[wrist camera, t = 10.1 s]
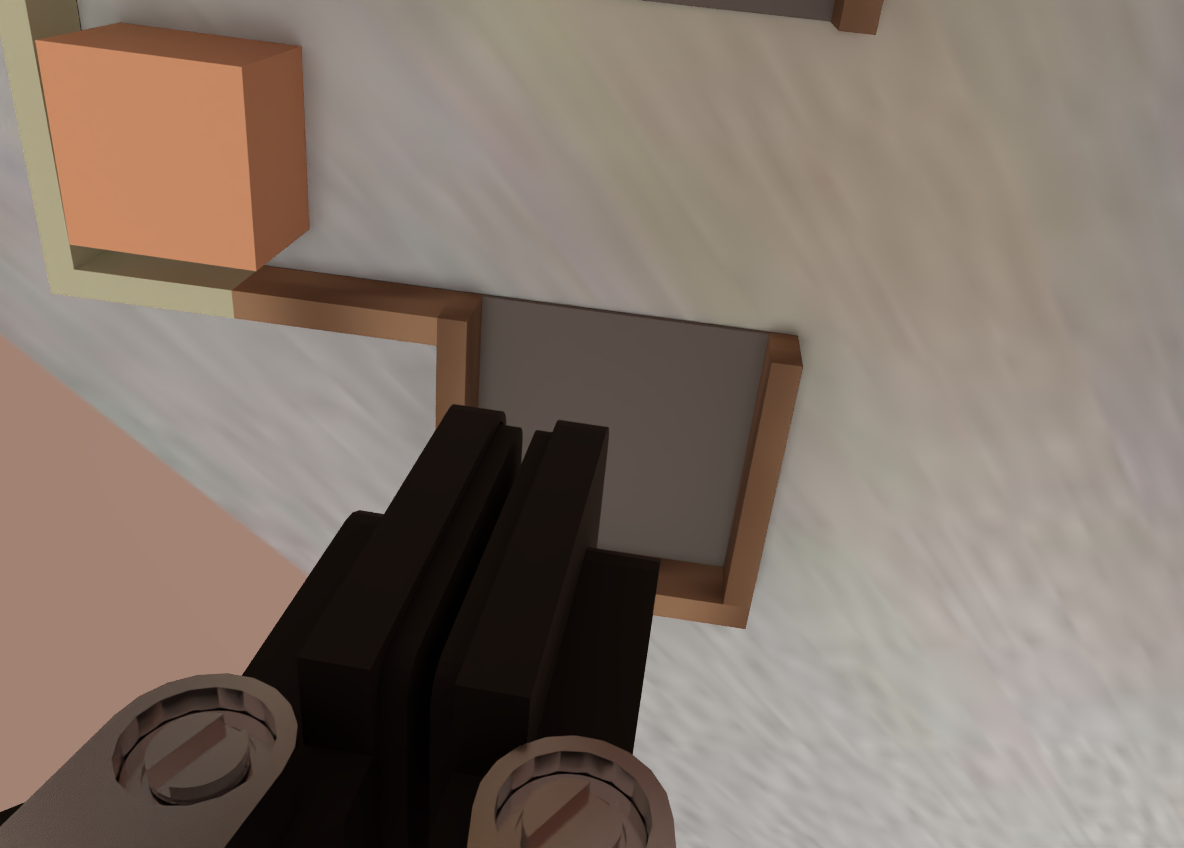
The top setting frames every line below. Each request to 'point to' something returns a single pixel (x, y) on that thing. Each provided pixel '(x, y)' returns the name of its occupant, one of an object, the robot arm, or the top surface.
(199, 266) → the box
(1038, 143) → the top surface
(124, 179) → the block
